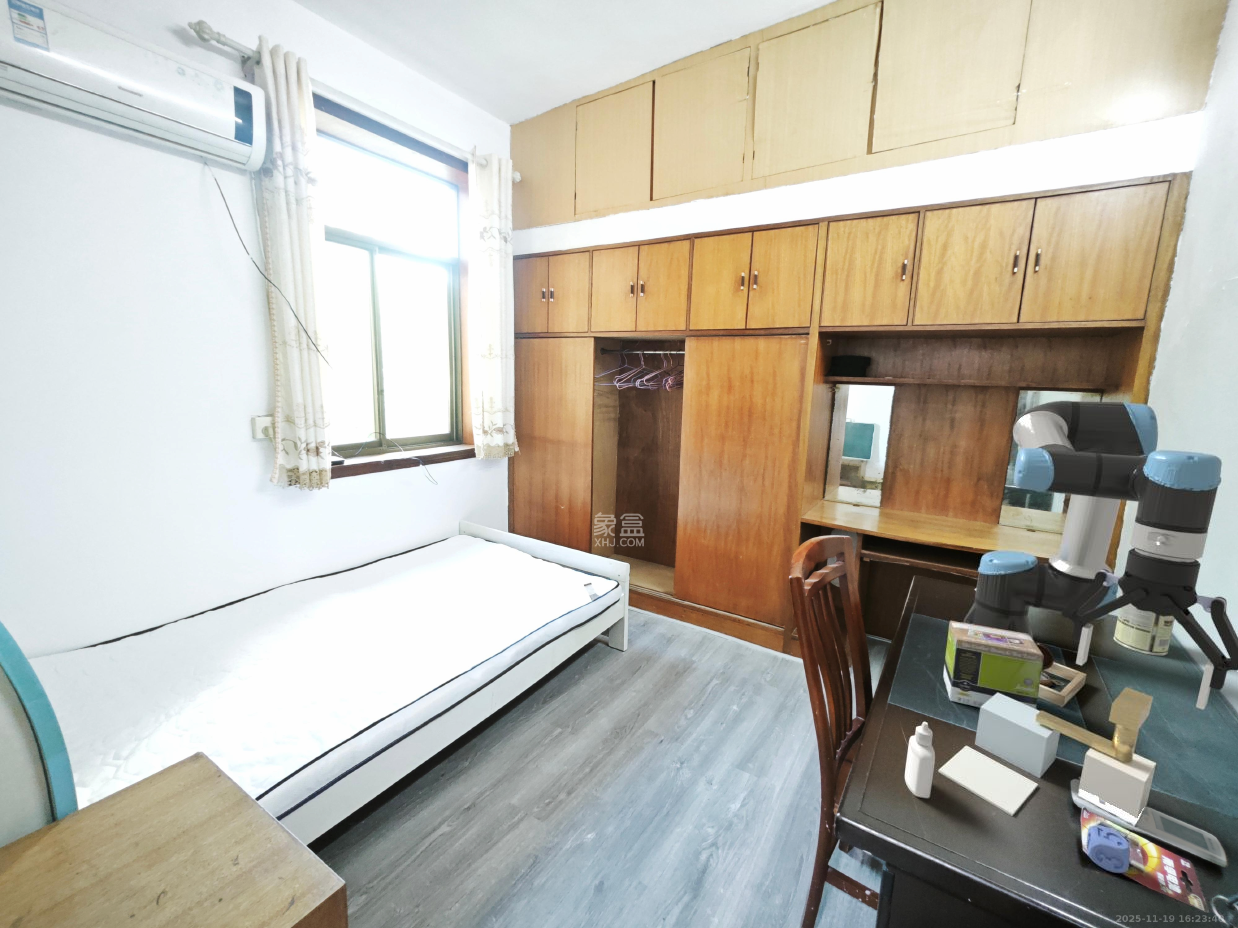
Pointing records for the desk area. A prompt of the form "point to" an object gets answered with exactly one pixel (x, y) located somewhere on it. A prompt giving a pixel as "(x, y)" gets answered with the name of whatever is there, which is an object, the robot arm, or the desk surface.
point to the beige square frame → (1069, 690)
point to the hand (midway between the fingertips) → (1137, 682)
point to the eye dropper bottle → (920, 762)
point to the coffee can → (1143, 630)
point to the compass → (1046, 666)
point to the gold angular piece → (1124, 713)
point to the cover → (1016, 734)
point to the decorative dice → (1108, 849)
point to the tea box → (991, 665)
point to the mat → (989, 779)
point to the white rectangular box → (1118, 780)
